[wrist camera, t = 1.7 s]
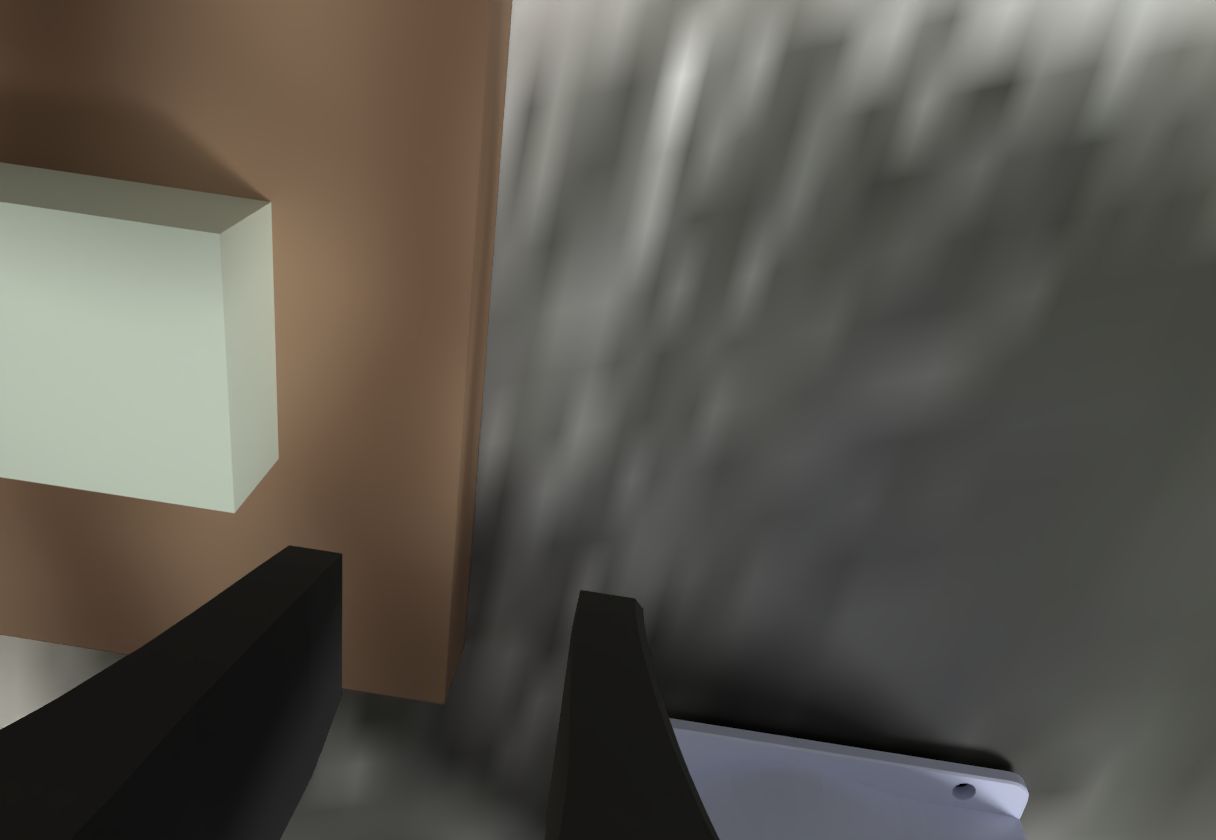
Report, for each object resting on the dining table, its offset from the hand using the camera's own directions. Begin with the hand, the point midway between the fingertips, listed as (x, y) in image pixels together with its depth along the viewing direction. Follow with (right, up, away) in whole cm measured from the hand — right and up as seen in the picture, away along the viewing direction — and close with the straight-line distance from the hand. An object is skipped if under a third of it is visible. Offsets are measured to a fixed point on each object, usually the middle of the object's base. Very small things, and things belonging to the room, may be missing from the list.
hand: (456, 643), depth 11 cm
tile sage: (-7, +4, +7) cm, 11 cm away
